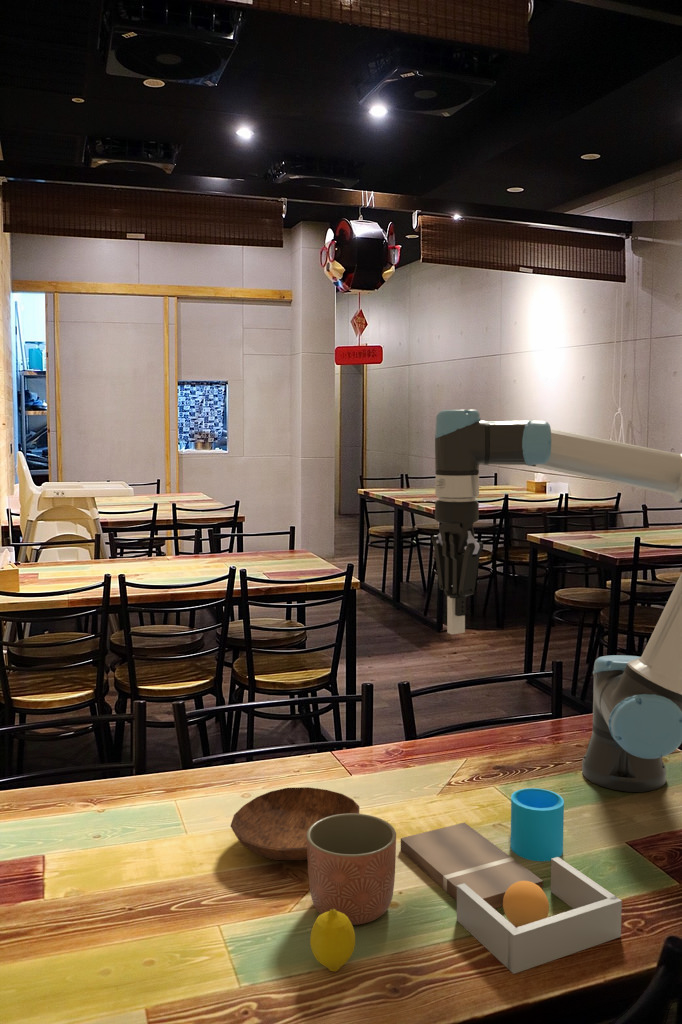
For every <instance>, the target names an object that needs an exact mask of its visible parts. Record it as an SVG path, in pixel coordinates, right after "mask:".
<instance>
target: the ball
mask: <svg viewBox="0 0 682 1024" xmlns="http://www.w3.org/2000/svg"><path fill="white" fill-rule="evenodd" d="M548 899H549V898H548V897H547V894H546V892H544V889H543V890H542V889H541V888H540V887H539V886H538V885H536V884H535V883H532V882H530V881H518V882H516V883H514V884H512V885H511V886H510V887H509V888H508V889H507V891H506V892H505V895H504V898H503V906H502V908H503V912H504V914H505V916H506V919H507V920H508V921H509V922H510V923H511V924H512V925H514V926H515V927H516V928H517V927H520V926H523V925H526V924H529V923H532V922H535V921H538V920H542V919H545V918H548V916H549V913H550V905H549V904H550V903H549V900H548Z"/></svg>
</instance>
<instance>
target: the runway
mask: <svg viewBox="0 0 682 1024" xmlns="http://www.w3.org/2000/svg"><path fill="white" fill-rule="evenodd" d="M400 851H401V853H403V854H404V855H405V856H406V857H407V858H408V859H409V860H410V861H412V862H413V863H414V864H415V865H416V866H417V867H418V868H420V869H421V871H422V872H424V873H425V874H426V875H427V876H428V877H429V878H431V879H432V880H433V881H434V882H435V883H436V884H437V885H438V886H440V888H442V890H444V891H445V892H446V893H447V894H448V895H449V896H450V897H452V898H453V900H455V901H456V902H457V885H460V884H463V883H465V884H466V885H467V886H468V887H469V888H470V889H472V890H473V891H474V892H475V893H476V894H477V895H479V896H480V897H481V898H482V899H483V900H484V901H486V902H487V903H488V904H489V905H490V906H491V907H493V908H494V909H495V910H496V909H500V908H503V898H504V895H505V892H506V891H507V889H508V888H509V887H510V886H511V885H512V884H514V883H516V882H518V881H530V882H532V883H535V884H536V885H538V886H539V887H540V888H541V889H542V890H543V891H544V880H543V879H542V878H540V877H538V876H537V875H536V874H534V873H533V872H532V871H531V870H530V869H528V868H526V867H525V866H524V865H522V864H521V863H520V862H519V861H517V860H515V859H514V857H512V856H510V855H509V854H508V853H506V851H504V850H503V849H501V848H499V847H498V845H497V844H496V845H495V844H494V843H493V842H492V841H490V840H489V839H487V837H485V836H483V835H482V834H480V833H479V831H477V830H475V829H474V828H473V827H471V826H470V825H468V823H466V822H461V823H457V824H453V825H449V826H445V827H440V828H438V829H437V828H436V829H432V830H429V831H425V832H421V833H416V834H412V835H408V836H404V837H401V838H400Z"/></svg>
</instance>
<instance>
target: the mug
mask: <svg viewBox="0 0 682 1024" xmlns="http://www.w3.org/2000/svg"><path fill="white" fill-rule="evenodd" d="M510 797H511V798H510V850H511V851H512V852H513V853H514V854H515V855H517V856H518V857H521V859H522V858H523V859H525V860H529V861H533V862H551V859H552V858H555V857H559V858H561V857H562V855H563V853H564V826H565V825H564V820H565V817H564V815H565V802H564V801H565V800H564V798H563V797H562V796H561V795H560V794H559V793H557V792H555V791H552V790H550V789H549V790H548V789H545V788H540V787H539V788H537V787H525V788H521V789H517V790H516V791H513V793H512V794H511V796H510Z"/></svg>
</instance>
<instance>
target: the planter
mask: <svg viewBox="0 0 682 1024" xmlns="http://www.w3.org/2000/svg"><path fill="white" fill-rule="evenodd" d="M306 836H307V858H308V859H307V873H308V874H307V875H308V884H309V892H310V897H311V901H312V904H313V906H314V908H315V910H316V911H317V912H318V913H319V915H321V914H323V913H325V912H328V911H330V910H331V909H332V908H334V909H335V910H336V911H338V912H341V913H343V914H345V915H346V916H347V917H348V918H349V920H350V922H351V924H352V926H354V925H355V926H357V925H363V924H368V923H370V922H373V921H376V920H377V919H378V918H380V917H381V916H383V915H384V914H385V913H386V912H387V910H388V909H389V908H390V905H391V904H392V899H393V896H394V889H395V876H396V861H397V860H396V858H397V857H396V856H397V855H396V854H397V852H396V851H397V831H396V830H395V828H394V827H393V825H391V824H390V822H388V821H386V820H384V819H383V818H379V817H377V816H374V815H372V814H371V815H370V814H365V813H359V814H356V813H347V814H337V815H332V816H329V817H325V818H323V819H321V820H319V821H317V822H315V823H314V824H313V825H311V827H310V828H309V829H308V831H307V835H306Z"/></svg>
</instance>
